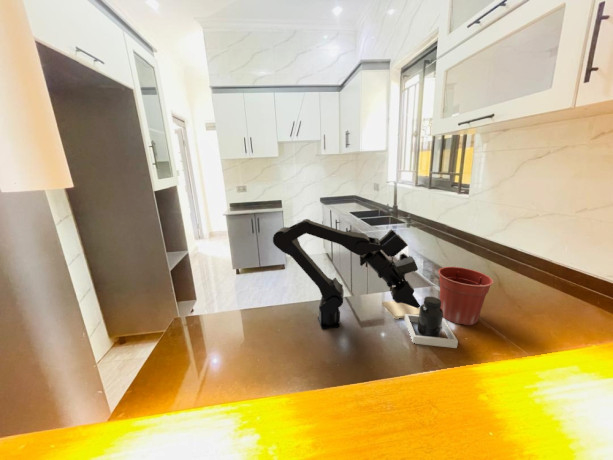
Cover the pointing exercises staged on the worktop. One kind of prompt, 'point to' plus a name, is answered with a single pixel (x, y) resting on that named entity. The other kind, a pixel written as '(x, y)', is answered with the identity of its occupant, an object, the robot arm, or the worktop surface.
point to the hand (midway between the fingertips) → (415, 299)
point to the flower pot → (462, 294)
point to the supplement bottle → (430, 317)
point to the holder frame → (432, 341)
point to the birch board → (400, 309)
